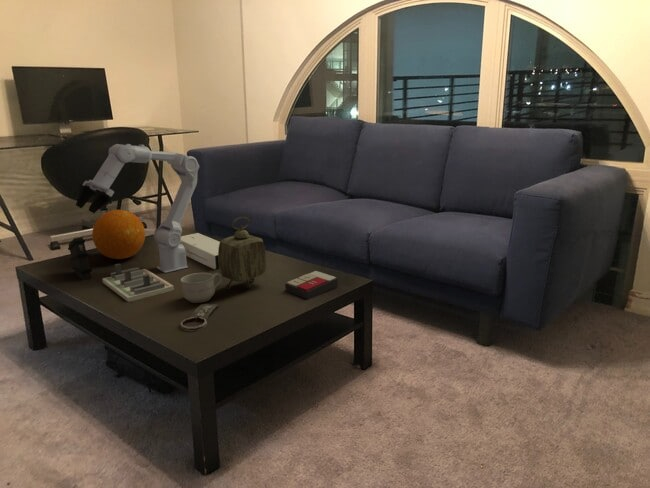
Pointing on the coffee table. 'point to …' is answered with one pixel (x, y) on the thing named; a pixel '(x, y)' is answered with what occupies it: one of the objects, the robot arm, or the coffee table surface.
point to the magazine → (80, 258)
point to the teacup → (199, 286)
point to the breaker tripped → (146, 280)
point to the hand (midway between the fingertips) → (84, 209)
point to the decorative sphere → (118, 234)
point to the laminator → (201, 249)
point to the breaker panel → (137, 285)
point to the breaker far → (118, 269)
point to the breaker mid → (127, 275)
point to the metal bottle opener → (199, 317)
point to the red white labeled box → (311, 284)
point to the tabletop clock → (241, 256)
